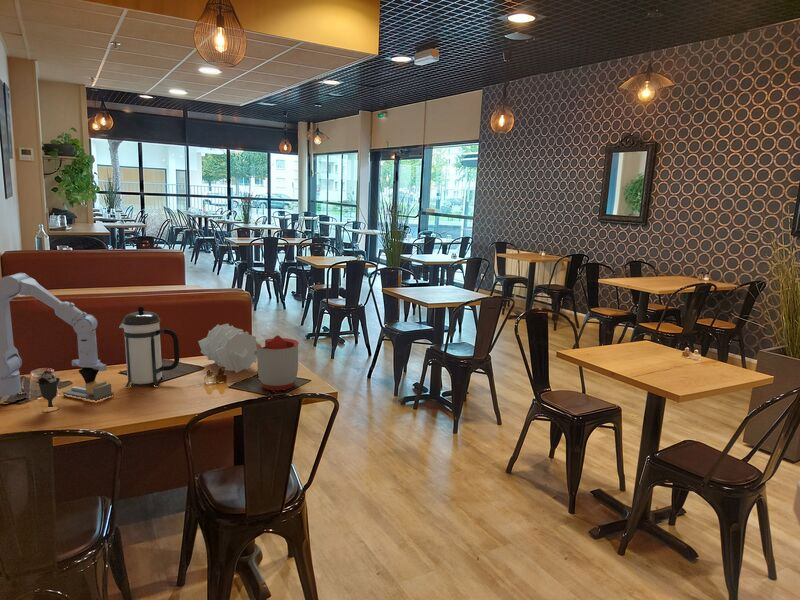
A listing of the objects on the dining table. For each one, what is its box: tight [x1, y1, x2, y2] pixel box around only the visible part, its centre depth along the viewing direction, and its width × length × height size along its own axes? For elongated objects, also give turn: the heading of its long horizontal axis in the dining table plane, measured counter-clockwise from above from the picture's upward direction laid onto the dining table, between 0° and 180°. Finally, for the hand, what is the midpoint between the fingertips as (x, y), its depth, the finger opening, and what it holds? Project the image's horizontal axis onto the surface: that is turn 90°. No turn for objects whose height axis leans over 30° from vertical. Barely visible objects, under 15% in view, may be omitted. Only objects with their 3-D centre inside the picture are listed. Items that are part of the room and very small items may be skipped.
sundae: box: [35, 364, 61, 407], centre depth 184 cm, size 7×7×15 cm
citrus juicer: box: [254, 334, 300, 391], centre depth 211 cm, size 16×17×20 cm
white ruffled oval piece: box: [198, 323, 258, 374], centre depth 234 cm, size 18×18×25 cm
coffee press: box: [119, 305, 180, 388], centre depth 210 cm, size 17×16×30 cm
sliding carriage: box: [85, 379, 108, 395], centre depth 195 cm, size 4×5×4 cm
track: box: [62, 382, 115, 401], centre depth 197 cm, size 16×7×5 cm, turn 68°
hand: (90, 387), depth 197 cm, fingers closed
